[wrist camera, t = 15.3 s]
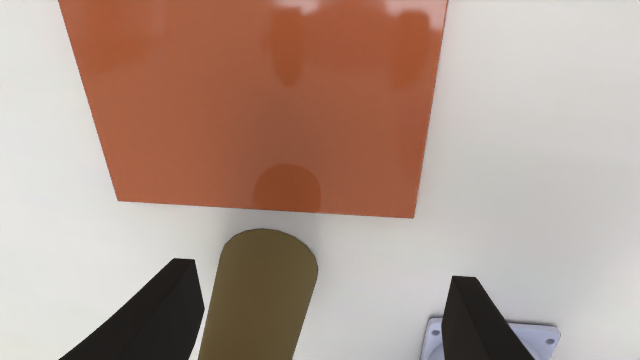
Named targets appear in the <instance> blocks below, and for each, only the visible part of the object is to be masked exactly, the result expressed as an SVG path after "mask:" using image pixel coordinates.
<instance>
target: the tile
mask: <svg viewBox="0 0 640 360" xmlns="http://www.w3.org/2000/svg"><path fill="white" fill-rule="evenodd" d="M58 2H59V5H60V9H61V12H62V16H63V19H64V22H65V26H66V29H67V32H68V36H69V39H70V42H71V46H72V49H73V52H74V56H75V59H76V63H77V66H78V69H79V73H80V76H81V79H82V83H83V86H84V89H85V93H86V96H87V99H88V103H89V106H90V109H91V113H92V116H93V120H94V123H95V126H96V130H97V133H98V136H99V140H100V143H101V146H102V150H103V153H104V156H105V160H106V163H107V166H108V170H109V173H110V177H111V180H112V183H113V187H114V190H115V193H116V197H117V200H118V201H125V202H142V203H158V204H175V205H192V206H209V207H226V208H243V209H260V210H277V211H293V212H310V213H327V214H344V215H361V216H378V217H395V218H412V219H413V218H414V214H415V208H416V202H417V195H418V189H419V183H420V176H421V170H422V164H423V157H424V151H425V145H426V139H427V132H428V126H429V120H430V113H431V107H432V101H433V94H434V88H435V82H436V75H437V69H438V63H439V56H440V50H441V44H442V38H443V31H444V25H445V19H446V12H447V6H448V0H58Z"/></svg>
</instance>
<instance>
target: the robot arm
mask: <svg viewBox="0 0 640 360" xmlns="http://www.w3.org/2000/svg"><path fill="white" fill-rule="evenodd" d="M204 310H205V308H204V303H203V298H202V293H201V289H200V284H199V279H198V274H197V269H196V265H195V260H194V259H178V258H173V259H172V260H171V261H170V262H169V263H168V264H167V265H166V266H165V267H164V268H163V269H162V270H161V271H159V272H158V273H157V274H156V275H155V276H154V277H153V278H152V279H151V280H150V281H149V282H148V283H147V284H146V285H145V286H144V287H143V288H142V289H141V290H140V291H139V292H138V293H136V294H135V295H134V296H133V297H132V298H131V299H130V300H129V301H128V302H127V303H126V304H125V305H123V306H122V307H121V308H120V309H119V310H118V311H117V312H116V313H115V314H114V315H113V316H111V317H110V318H109V319H108V320H107V321H106V322H104V323H103V324H102V325H101V326H100V327H99V328H97V329H96V330H95V331H94V332H93V333H91V334H90V335H89V336H88V337H87V338H86V339H84V340H83V341H82V342H81V343H79V344H78V345H77V346H76V347H74V348H73V349H72V350H71V351H69V352H68V353H67V354H65V355H64V356H63V357H62V358H60V359H59V360H188V359H189V357H190V354H191V352H192V350H193V347H194V345H195V342H196V338H197V335H198V332H199V328H200V325H201V321H202V317H203V314H204ZM560 337H561V334H560V331H559V329H558V328H556V327H553V326H541V325H528V324H514V323H507V322H506V320H505V319H504V317H503V316H502V315H501V313H500V312H499V310H498V309H497V307H496V306H495V305H494V303H493V302H492V300H491V299H490V297H489V296H488V294H487V293H486V291H485V290H484V288H483V287H482V285H481V284H480V282H479V281H478V280H477V278H476V277H464V276H452V280H451V284H450V288H449V293H448V297H447V302H446V306H445V310H444V315H443V318H432V319H431V320H429V322H428V325H427V330H426V335H425V339H424V344H423V349H422V353H421V358H420V360H550V358H551V355H552V353H553V351H554V349H555V347H556V345H557V343H558V341H559V339H560Z"/></svg>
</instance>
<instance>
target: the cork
mask: <svg viewBox="0 0 640 360" xmlns="http://www.w3.org/2000/svg"><path fill="white" fill-rule="evenodd" d="M317 274H318V266H317V263H316V259H315V257H314V255H313V254H312V253H311V251H310V250H309V249H308V247H307V246H306V245H304V244H303V243H302V242H300V241H299V240H298V239H296V238H295V237H293V236H290V235H288V234H285V233H283V232H280V231H276V230H268V229H256V230H248V231H245V232H243V233H240V234H238V235H236V236H234V237H233V238H232V239H231V240H229V241H228V242H227V243H226V244H225V246H224V248H223V250H222V253H221V255H220V259H219V264H218V269H217V273H216V278H215V282H214V287H213V292H212V296H211V301H210V305H209V310H208V315H207V319H206V324H205V328H204V333H203V338H202V342H201V347H200V351H199V356H198V360H292V358H293V354H294V351H295V348H296V345H297V342H298V338H299V335H300V332H301V329H302V325H303V322H304V319H305V316H306V313H307V309H308V306H309V303H310V300H311V296H312V293H313V290H314V287H315V284H316V280H317Z"/></svg>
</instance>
